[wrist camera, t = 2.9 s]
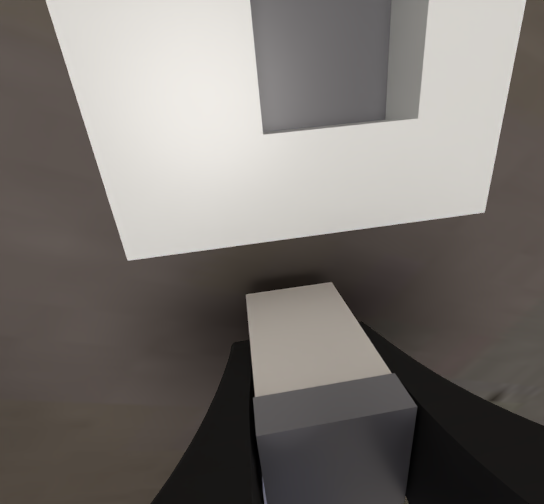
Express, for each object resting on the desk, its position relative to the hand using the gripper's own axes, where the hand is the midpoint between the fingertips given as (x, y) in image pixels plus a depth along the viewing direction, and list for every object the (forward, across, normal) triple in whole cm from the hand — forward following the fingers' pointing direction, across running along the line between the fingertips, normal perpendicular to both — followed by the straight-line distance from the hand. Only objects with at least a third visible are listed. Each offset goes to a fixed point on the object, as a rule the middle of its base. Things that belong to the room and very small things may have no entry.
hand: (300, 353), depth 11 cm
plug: (+2, 0, 0) cm, 2 cm away
